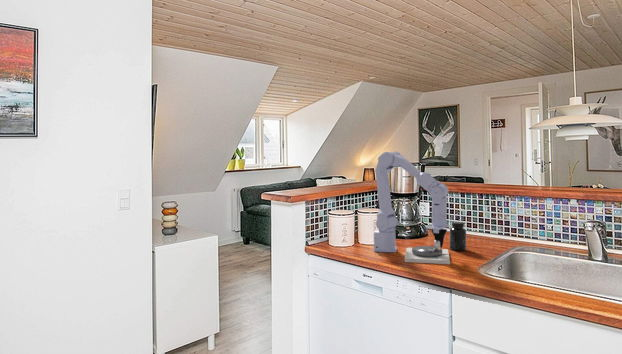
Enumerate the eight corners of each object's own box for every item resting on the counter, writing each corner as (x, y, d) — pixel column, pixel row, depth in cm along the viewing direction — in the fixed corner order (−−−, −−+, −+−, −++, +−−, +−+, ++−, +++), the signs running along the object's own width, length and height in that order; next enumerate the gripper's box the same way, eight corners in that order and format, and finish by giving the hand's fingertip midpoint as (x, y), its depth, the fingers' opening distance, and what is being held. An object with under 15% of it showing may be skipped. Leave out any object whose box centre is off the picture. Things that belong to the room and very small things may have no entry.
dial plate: (404, 261, 152) (404, 257, 151) (407, 250, 168) (407, 247, 168) (449, 264, 146) (449, 260, 146) (447, 252, 163) (447, 248, 163)
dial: (406, 253, 157) (406, 239, 157) (421, 247, 165) (420, 234, 165) (433, 258, 148) (433, 244, 148) (447, 252, 157) (447, 238, 157)
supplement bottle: (467, 251, 163) (467, 224, 163) (451, 251, 165) (450, 224, 164) (464, 247, 170) (464, 221, 169) (448, 247, 172) (448, 221, 171)
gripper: (446, 217, 145) (446, 252, 147) (452, 211, 158) (452, 243, 159) (427, 216, 149) (428, 250, 150) (434, 210, 162) (434, 242, 163)
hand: (439, 246), depth 155 cm, fingers closed, pressing on dial
